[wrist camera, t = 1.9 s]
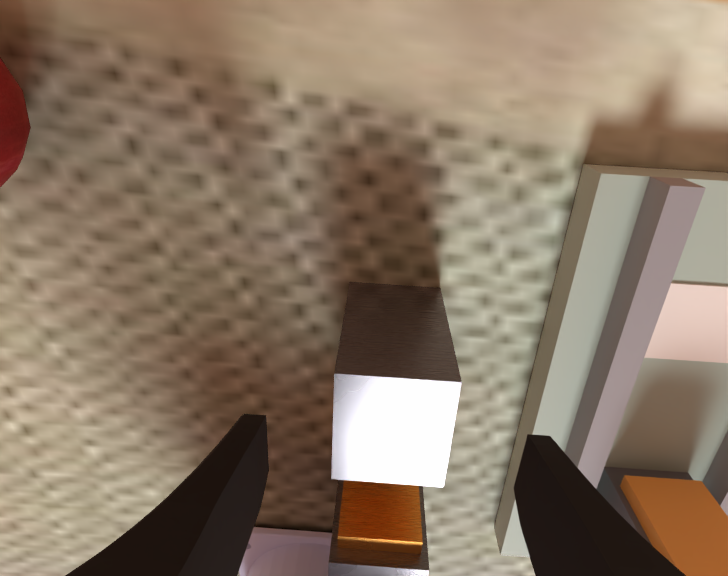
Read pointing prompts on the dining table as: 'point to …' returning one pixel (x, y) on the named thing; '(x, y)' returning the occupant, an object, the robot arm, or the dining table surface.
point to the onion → (11, 124)
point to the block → (378, 530)
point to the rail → (640, 360)
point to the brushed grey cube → (394, 387)
